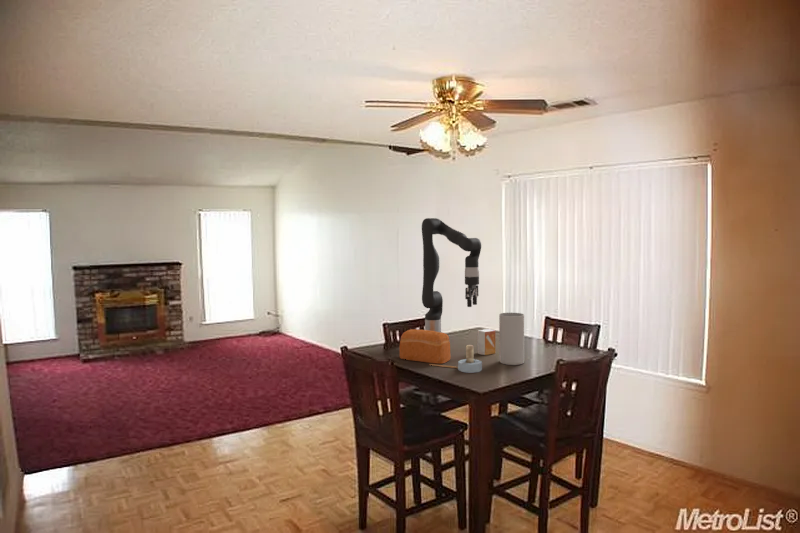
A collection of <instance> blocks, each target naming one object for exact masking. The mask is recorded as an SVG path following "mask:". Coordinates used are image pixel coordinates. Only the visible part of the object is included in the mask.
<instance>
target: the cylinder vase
mask: <svg viewBox="0 0 800 533" xmlns="http://www.w3.org/2000/svg"><path fill="white" fill-rule="evenodd" d="M498 322H499V324H498V325H499V327H498V328H499V330H498V331H499V332H498V333H499V340H498V342H499V346H498V347H499V348H498V349H499V362H500V364H503V365H505V366H506V365H507V366H518V365H522V364H524V362H525V313H521V312H502V313H499V320H498Z"/></svg>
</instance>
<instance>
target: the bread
mask: <svg viewBox="0 0 800 533" xmlns="http://www.w3.org/2000/svg"><path fill="white" fill-rule="evenodd" d="M451 355H452V354H451V342H450V337H449V335H448V334H447V333H445V332H442V331H441V332H436V331H429V330H425V329H416V328H415V329H412V328H411V329H408V330H406V331H404V332H403V333H402V335H401V336H400V341H399V359H401V360H405V359H406V361H413V362H414V361H415V362H421V363H427V364H436V365H442V364H446V363H447V362H449V361H450V360H451Z"/></svg>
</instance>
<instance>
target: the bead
mask: <svg viewBox="0 0 800 533" xmlns="http://www.w3.org/2000/svg"><path fill="white" fill-rule="evenodd" d="M457 367H458V368H457V370H458V371H459V372H462V373H467V374H468V373H470V374H472V373H474V374H475V373H480V372H481V371H483V361H482V360H479V359H477V358H476V359H475V358H474V363H466V358H465V359H460V360H458V361H457Z"/></svg>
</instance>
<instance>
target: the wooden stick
mask: <svg viewBox="0 0 800 533" xmlns="http://www.w3.org/2000/svg"><path fill="white" fill-rule="evenodd" d="M428 364H429V366H431V365H432V367H443V368H452V369H458V366H456V365H454V366H453V365H445V364H443V365H442V364H435V363H428Z"/></svg>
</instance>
